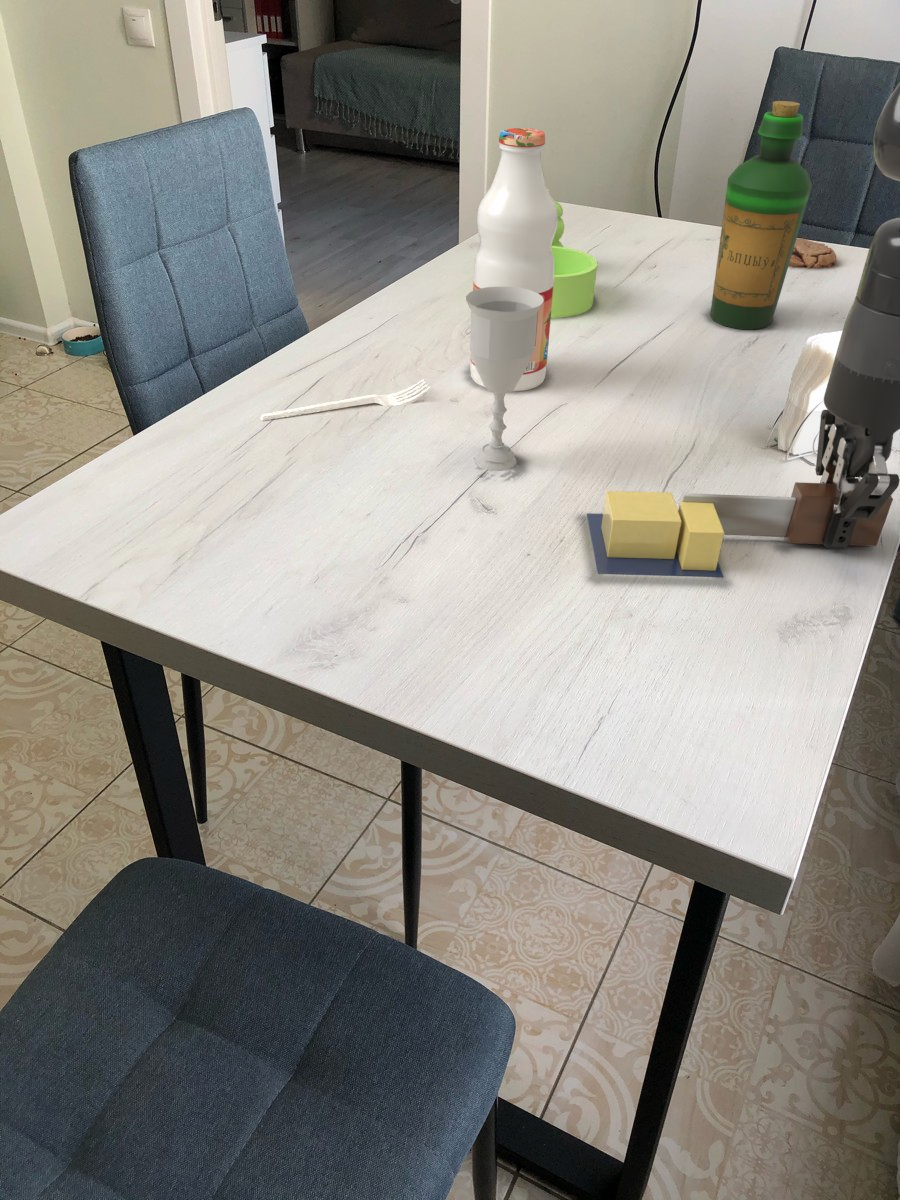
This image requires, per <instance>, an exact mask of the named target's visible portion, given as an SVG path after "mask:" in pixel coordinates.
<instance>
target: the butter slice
mask: <svg viewBox="0 0 900 1200" xmlns="http://www.w3.org/2000/svg"><path fill="white" fill-rule="evenodd" d="M677 510H678V512H679V515H680V518H681V521H682V522H681V527H680V532H679V537H678V542H677V547H676V551H677V554H678V558H679V561H680V565H681V568H682V570H707V571H715V570H716V567H717V563H719V559H720V555H721V554H720V553H721V549H722V545H723V541H724V537H725V535H724V531H723V528H722V526H721V523H720V520H719V518H718V515H717V512H716V510H715V507H714V504H713V503H695V502H682V501H680V502H679V505H678V509H677Z"/></svg>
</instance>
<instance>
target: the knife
mask: <svg viewBox="0 0 900 1200" xmlns="http://www.w3.org/2000/svg"><path fill="white" fill-rule="evenodd" d="M836 490H837V488H836V486H835V485H834V484H828V483H820V482H798V481H797V482H794V485H793V487H792V492H791V495H790V496H773V495H772V496H771V495H747V494H745V495H744V494H743V495H742V494H718V493H717V494H716V493H714V494H713V493H693V492H691V493H689V492H684V493H683V494H682V498H681V502H695V503H713V504H714V507H715V510H716V512H717V515H718V518H719V520H720V523H721V526H722V528H723V531H724V536H745V537H767V538H785V539H786V540H787V543H788V544H806V545H807V544H808V545H824V544H823V543H822V539H823V536H824V532H825V529H826V526H827V523H828V520H829V516H830V513H831V510H832V506H833V502H834V498H835V494H836ZM851 493H852V491H849V492H848V493H847V495H846V499H845V500H847V498H848V497H849V496H850V494H851ZM893 502H894V498H893V497H892V495H891V496H890V497H889V499H888V500H887V501H886V502H885V504H884V505H883V506H882V507H881V509H880V510H879V511H878V512H877V514H876V515H875V516H874V517H873V519H857V521H856V524H855V527H854V530H853V533H852V536H851V539H850V542H849V545H848V546H859V547H860V546H861V547H863V546H864V547H877V545H878V542H879V539H880V537H881V534H882V532H883V528H884V526H885V523H886V520H887V517H888V514H889V512H890V509H891V506H892V503H893Z"/></svg>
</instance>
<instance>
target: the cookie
mask: <svg viewBox="0 0 900 1200" xmlns="http://www.w3.org/2000/svg"><path fill="white" fill-rule="evenodd" d="M836 264H837V254H836V252H835V250H834V249H833V248H832V247H829V246H828V245H826V244H825V243H822V242H817V241H812V240H809V239H806V238H802V237H801V238H797V239H796V242H795V246H794V249H793V252H792V256H791V259H790V262H789V266H788V267H791V268H807V269H815V270H816V269H818V270H819V269H822V268H823V269H824V268H825V269H826V268H832V266H836Z"/></svg>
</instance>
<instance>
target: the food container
mask: <svg viewBox="0 0 900 1200" xmlns="http://www.w3.org/2000/svg"><path fill="white" fill-rule="evenodd" d="M547 190H548V192H549V193H550V189H548V188H547ZM552 199H553V201H554V203H555V205H556V208H557V212H558V224H557V229H556V233H555V235H554V238H553V241H552V246H551V249H552V253H553V256H554V263H555V272H554V286H553V297H552V308H551V319H558V318H559V319H560V318H569V317H573V316H574V317H575V316H578V315H582V314H584V313H586V312H588V311H589V310H591V308H592V307H593V305H594V297H595V290H596V289H595V288H596V281H597V280H596V279H597V272H598V271H597V270H598V261H597V259H596V258H595V257H594V256H592V255H591V254H589V253H586V252H584V251H581V250H578V249H575V248H571V247H565V246H564V245H563V243H562V242H561V241H560V240H561V238H562V237H563V235H564V233H565V222H564V219H563V218H561V217H562V216H563V214H564V208H563V207H562V205H561V203H559V202H558V201H557V200H555V199H554V198H552Z"/></svg>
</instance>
